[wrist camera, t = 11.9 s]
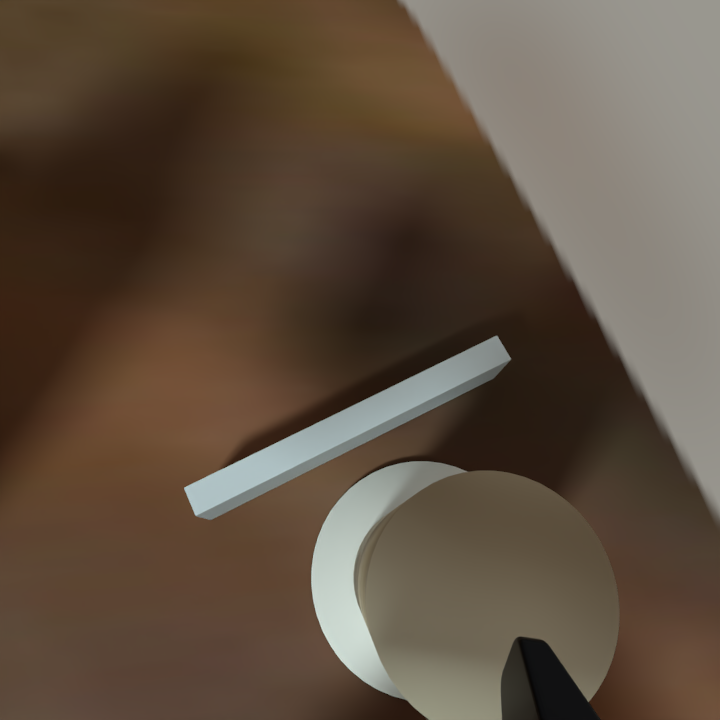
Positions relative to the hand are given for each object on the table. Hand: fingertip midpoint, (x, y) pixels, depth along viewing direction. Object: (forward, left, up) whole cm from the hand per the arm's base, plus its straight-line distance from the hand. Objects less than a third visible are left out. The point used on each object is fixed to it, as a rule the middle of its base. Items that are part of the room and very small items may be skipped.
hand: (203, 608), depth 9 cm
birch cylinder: (+2, -5, -13) cm, 14 cm away
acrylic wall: (+6, -1, -14) cm, 15 cm away
